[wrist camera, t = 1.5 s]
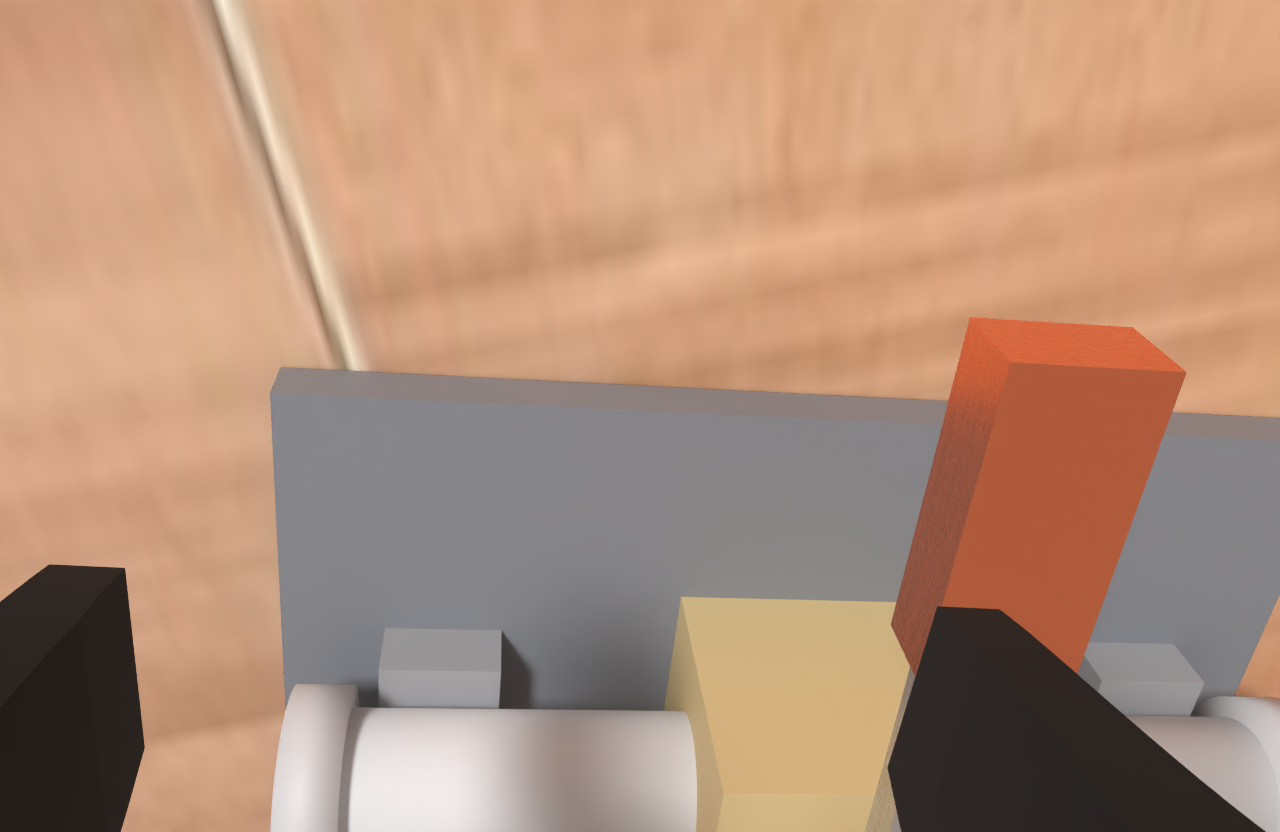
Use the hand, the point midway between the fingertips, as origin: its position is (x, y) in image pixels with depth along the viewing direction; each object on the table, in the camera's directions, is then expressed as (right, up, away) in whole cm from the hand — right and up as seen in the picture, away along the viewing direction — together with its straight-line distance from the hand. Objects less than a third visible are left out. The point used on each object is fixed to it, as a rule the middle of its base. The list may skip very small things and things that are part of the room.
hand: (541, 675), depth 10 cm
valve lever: (+5, -2, +6) cm, 8 cm away
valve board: (+4, -3, +14) cm, 15 cm away
